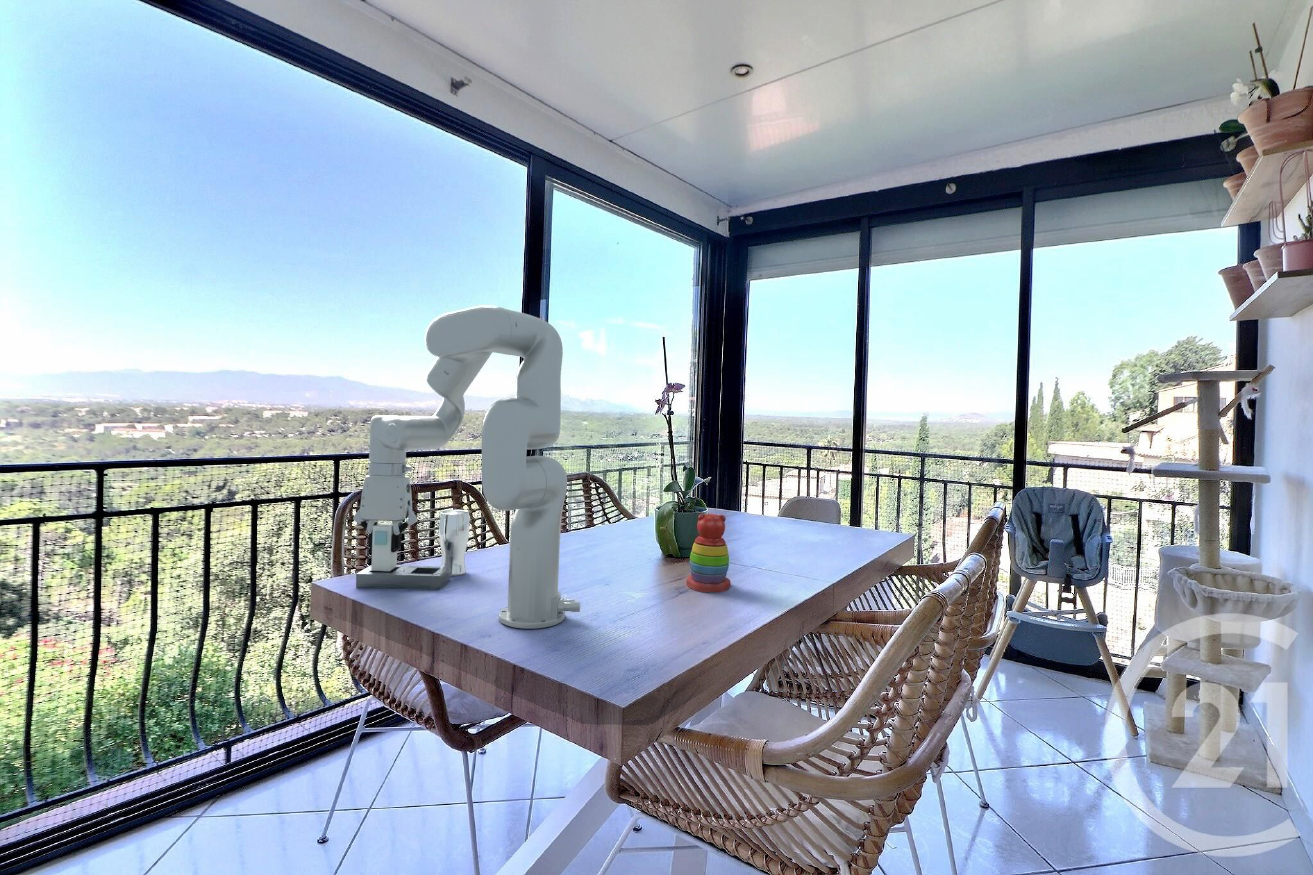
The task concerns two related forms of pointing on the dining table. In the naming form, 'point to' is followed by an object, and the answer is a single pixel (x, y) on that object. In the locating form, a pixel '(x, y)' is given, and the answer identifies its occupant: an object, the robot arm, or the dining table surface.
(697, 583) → the stacking bear
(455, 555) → the beer glass
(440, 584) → the panel
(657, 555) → the dining table surface
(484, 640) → the dining table surface
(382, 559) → the plug
